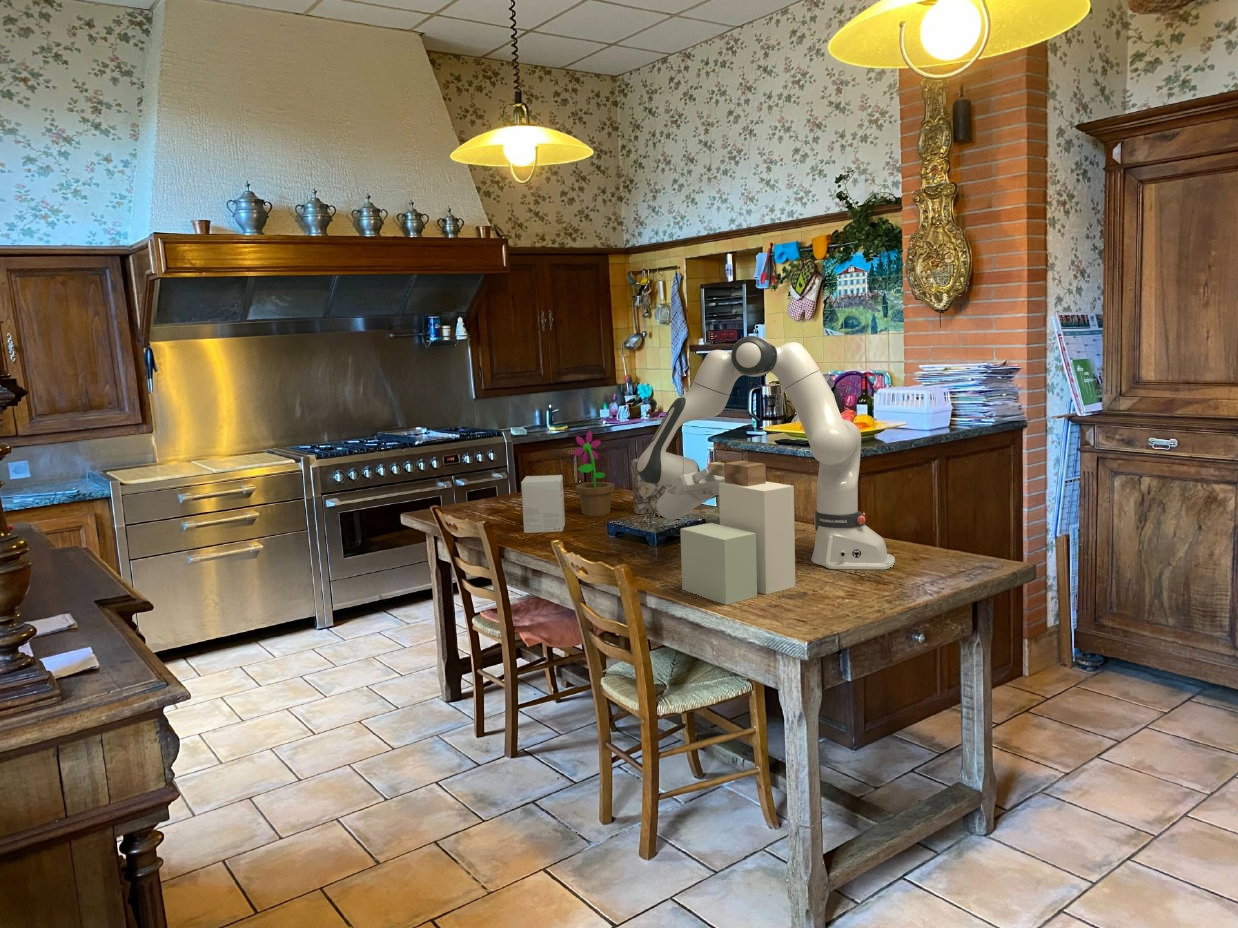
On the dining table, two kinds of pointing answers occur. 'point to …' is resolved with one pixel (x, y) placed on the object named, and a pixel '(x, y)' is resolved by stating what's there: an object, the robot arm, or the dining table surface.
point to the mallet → (740, 472)
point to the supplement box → (543, 503)
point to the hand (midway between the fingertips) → (722, 468)
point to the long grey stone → (707, 514)
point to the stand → (742, 545)
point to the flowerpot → (595, 493)
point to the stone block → (644, 492)
